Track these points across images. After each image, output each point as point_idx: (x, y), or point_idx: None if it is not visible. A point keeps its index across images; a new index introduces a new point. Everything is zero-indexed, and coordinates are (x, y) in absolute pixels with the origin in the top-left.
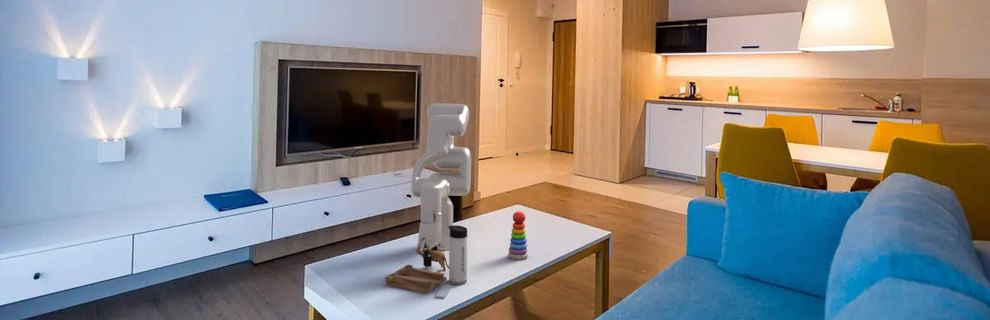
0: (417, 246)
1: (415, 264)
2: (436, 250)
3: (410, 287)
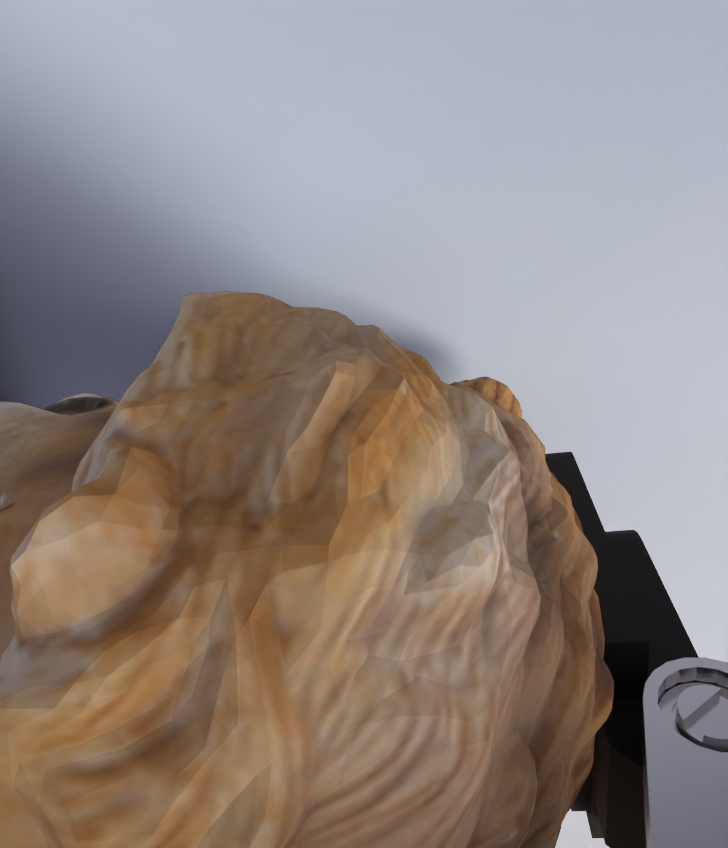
0: (100, 435)
1: (415, 5)
2: (618, 836)
3: None
